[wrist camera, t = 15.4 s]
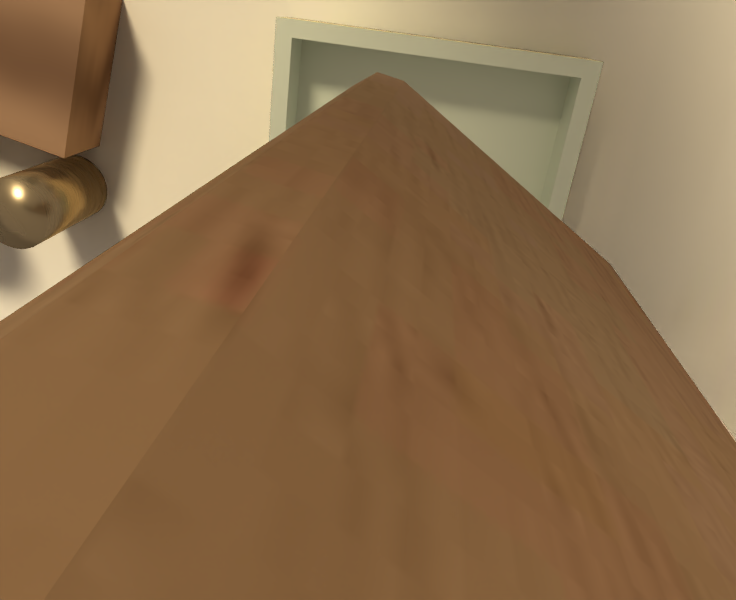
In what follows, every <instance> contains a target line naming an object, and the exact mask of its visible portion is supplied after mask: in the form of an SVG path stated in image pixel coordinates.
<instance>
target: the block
mask: <svg viewBox="0 0 736 600" xmlns="http://www.w3.org/2000/svg"><path fill="white" fill-rule="evenodd" d="M0 600H736V442H735V440H734V439H733V438H732V436H731V435H730V433H729V432H728V431H727V429H726V428H725V426H724V425H723V423H722V422H721V421H720V419H719V418H718V416H717V415H716V414H715V412H714V411H713V409H712V408H711V406H710V405H709V404H708V402H707V401H706V399H705V398H704V397H703V395H702V394H701V392H700V391H699V389H698V388H697V387H696V385H695V384H694V382H693V381H692V380H691V378H690V377H689V375H688V374H687V372H686V371H685V370H684V368H683V367H682V365H681V364H680V363H679V361H678V360H677V358H676V357H675V355H674V354H673V353H672V351H671V350H670V348H669V347H668V346H667V344H666V343H665V341H664V340H663V338H662V337H661V336H660V334H659V333H658V331H657V330H656V329H655V327H654V326H653V324H652V323H651V321H650V320H649V319H648V317H647V316H646V314H645V313H644V312H643V310H642V309H641V307H640V306H639V304H638V303H637V302H636V300H635V299H634V297H633V296H632V295H631V293H630V292H629V290H628V289H627V287H626V286H625V285H624V283H623V282H622V280H621V279H620V278H619V276H618V275H617V273H616V272H615V270H614V269H613V268H612V266H611V265H610V264H609V263H608V262H607V261H606V260H605V259H604V258H602V257H601V256H600V255H599V254H598V253H597V252H596V251H595V250H593V249H592V248H591V247H590V246H589V245H588V244H587V243H586V242H584V241H583V240H582V239H581V238H580V237H579V236H578V235H577V234H576V233H574V232H573V231H572V230H571V229H570V228H569V227H568V226H567V225H565V224H564V223H563V222H562V221H561V220H560V219H559V218H558V217H556V216H555V215H554V214H553V213H552V212H551V211H550V210H549V209H547V208H546V207H545V206H544V205H543V204H542V203H541V202H540V201H538V200H537V199H536V198H535V197H534V196H533V195H532V194H531V193H529V192H528V191H527V190H526V189H525V188H524V187H523V186H522V185H520V184H519V183H518V182H517V181H516V180H515V179H514V178H513V177H511V176H510V175H509V174H508V173H507V172H506V171H505V170H504V169H502V168H501V167H500V166H499V165H498V164H497V163H496V162H495V161H494V160H492V159H491V158H490V157H489V156H488V155H487V154H486V153H485V152H483V151H482V150H481V149H480V148H479V147H478V146H477V145H476V144H474V143H473V142H472V141H471V140H470V139H469V138H468V137H467V136H465V135H464V134H463V133H462V132H461V131H460V130H459V129H458V128H456V127H455V126H454V125H453V124H452V123H451V122H450V121H449V120H447V119H446V118H445V117H444V116H443V115H442V114H441V113H440V112H438V111H437V110H436V109H435V108H434V107H433V106H432V105H431V104H429V103H428V102H427V101H426V100H425V99H424V98H423V97H422V96H420V95H419V94H418V93H417V92H416V91H415V90H414V89H413V88H412V87H410V86H409V85H408V84H407V83H406V82H405V81H403V80H400V79H397V78H394V77H391V76H388V75H385V74H382V73H379V72H376V73H375V74H373V75H371V76H369V77H367V78H366V79H364V80H362V81H360V82H359V83H357V84H355V85H353V86H352V87H350V88H349V89H347V90H346V91H344V92H343V93H341V94H340V95H338V96H337V97H335V98H334V99H332V100H331V101H329V102H328V103H326V104H325V105H323V106H322V107H320V108H319V109H317V110H316V111H314V112H313V113H311V114H310V115H308V116H307V117H305V118H304V119H302V120H301V121H299V122H298V123H296V124H295V125H293V126H292V127H290V128H289V129H287V130H286V131H284V132H283V133H281V134H280V135H278V136H277V137H275V138H274V139H272V140H271V141H269V142H268V143H266V144H265V145H263V146H262V147H260V148H259V149H257V150H256V151H254V152H253V153H251V154H250V155H248V156H247V157H245V158H244V159H242V160H241V161H240V162H238V163H237V164H235V165H234V166H232V167H231V168H229V169H228V170H226V171H225V172H223V173H222V174H220V175H219V176H217V177H216V178H214V179H213V180H211V181H210V182H208V183H207V184H205V185H204V186H202V187H201V188H199V189H198V190H196V191H195V192H193V193H192V194H190V195H189V196H187V197H186V198H184V199H183V200H181V201H180V202H178V203H177V204H175V205H174V206H172V207H171V208H169V209H168V210H166V211H165V212H163V213H162V214H160V215H159V216H157V217H156V218H154V219H153V220H151V221H150V222H148V223H147V224H145V225H144V226H142V227H141V228H139V229H138V230H136V231H135V232H133V233H132V234H130V235H129V236H127V237H126V238H124V239H123V240H121V241H120V242H118V243H117V244H115V245H114V246H112V247H111V248H109V249H108V250H106V251H105V252H103V253H102V254H100V255H99V256H97V257H96V258H94V259H93V260H91V261H90V262H88V263H87V264H85V265H84V266H82V267H81V268H79V269H78V270H76V271H75V272H74V273H72V274H71V275H69V276H68V277H66V278H65V279H63V280H62V281H60V282H59V283H57V284H56V285H54V286H53V287H51V288H50V289H48V290H47V291H45V292H44V293H42V294H41V295H39V296H38V297H36V298H35V299H33V300H32V301H30V302H29V303H27V304H26V305H24V306H23V307H21V308H20V309H18V310H17V311H15V312H14V313H12V314H11V315H9V316H8V317H6V318H5V319H3V320H2V321H0Z"/></svg>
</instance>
